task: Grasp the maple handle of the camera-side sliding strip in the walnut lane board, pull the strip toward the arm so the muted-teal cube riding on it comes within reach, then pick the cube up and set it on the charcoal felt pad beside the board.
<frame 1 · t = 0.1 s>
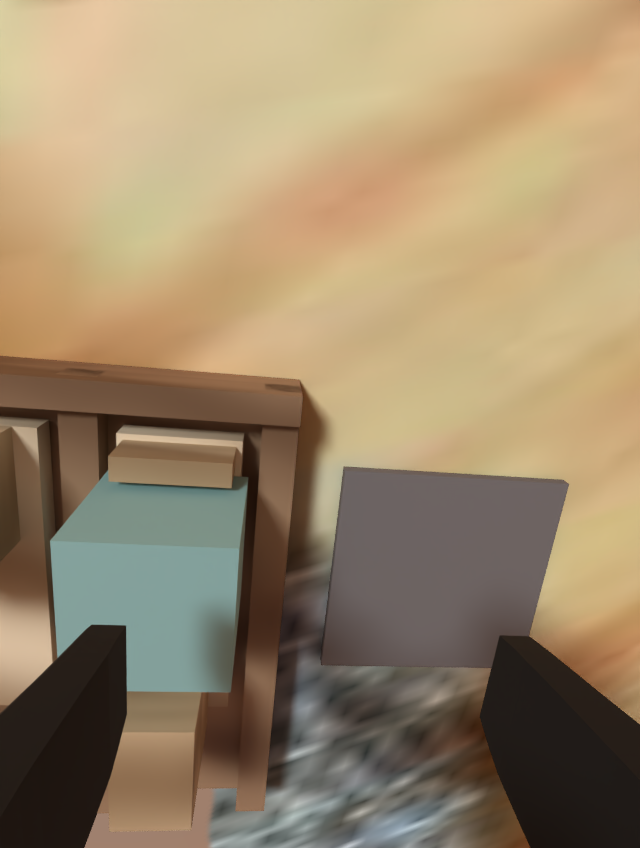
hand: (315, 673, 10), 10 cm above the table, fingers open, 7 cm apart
cube: (178, 533, 17), point 2 cm above the table, touching strip a
felt pad: (437, 572, 21), on the table
strip a: (168, 622, 16), point 4 cm above the table, slide at 0.0 cm, touching cube
lane board: (104, 592, 20), on the table
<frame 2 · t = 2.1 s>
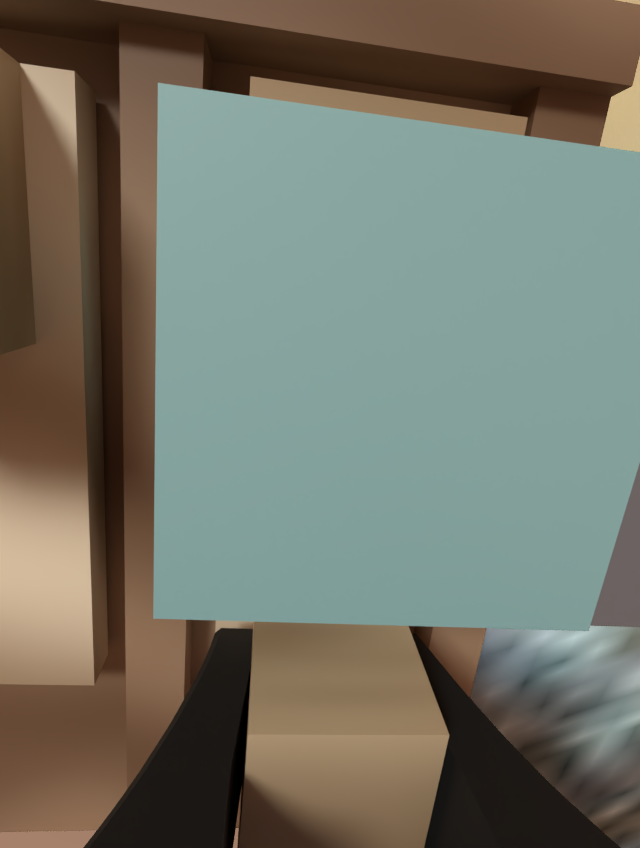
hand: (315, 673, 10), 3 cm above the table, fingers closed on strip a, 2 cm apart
cube: (346, 341, 9), point 2 cm above the table, touching strip a
strip a: (342, 505, 8), point 4 cm above the table, slide at 0.0 cm, touching cube, gripper
lane board: (176, 490, 12), on the table
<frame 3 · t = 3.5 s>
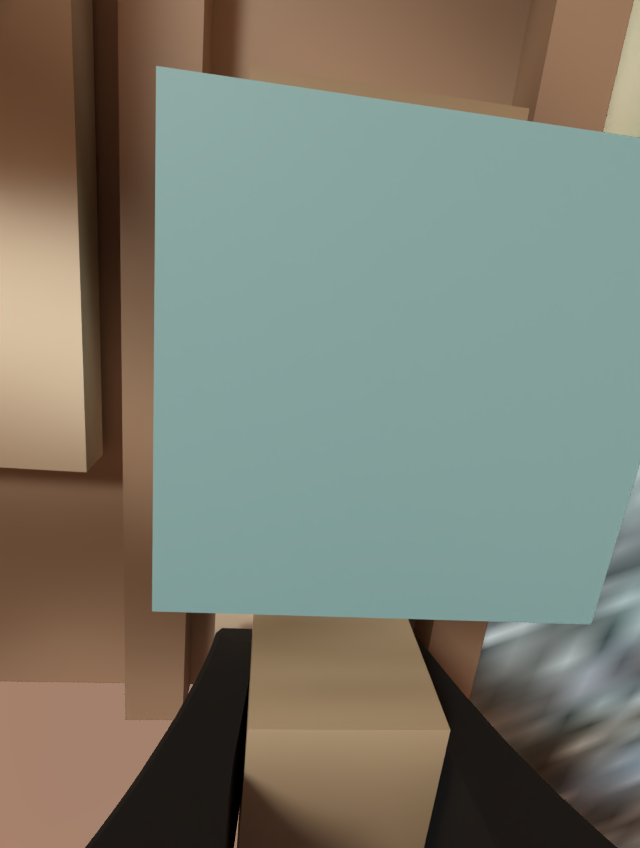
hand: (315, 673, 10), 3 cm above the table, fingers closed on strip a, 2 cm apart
cube: (347, 336, 9), point 2 cm above the table, touching strip a
strip a: (342, 500, 8), point 4 cm above the table, slide at 4.7 cm, touching cube, gripper
lane board: (180, 275, 10), on the table
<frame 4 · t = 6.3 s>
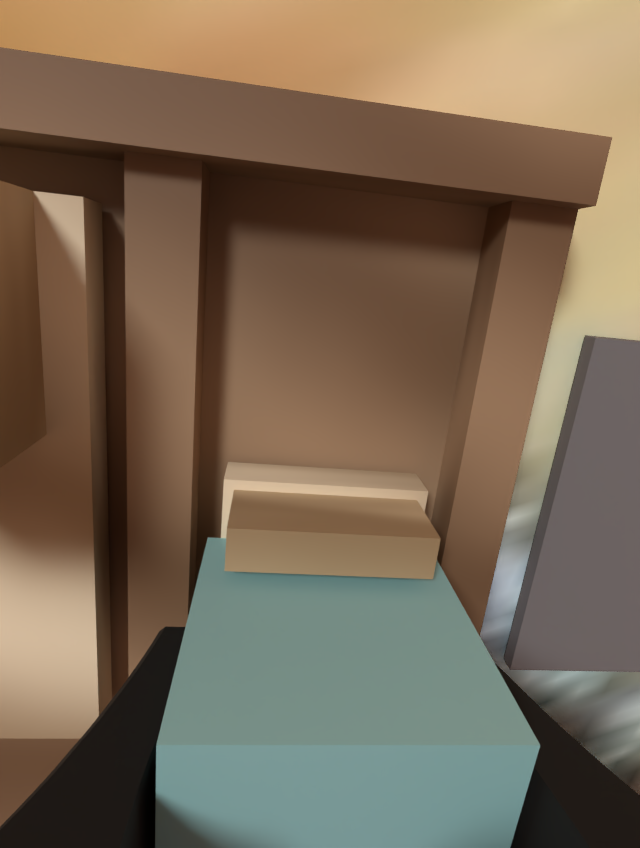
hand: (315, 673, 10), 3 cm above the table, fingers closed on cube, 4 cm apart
cube: (310, 636, 11), point 2 cm above the table, touching gripper, strip a
strip a: (304, 790, 10), point 4 cm above the table, slide at 4.7 cm, touching cube
lane board: (176, 549, 12), on the table
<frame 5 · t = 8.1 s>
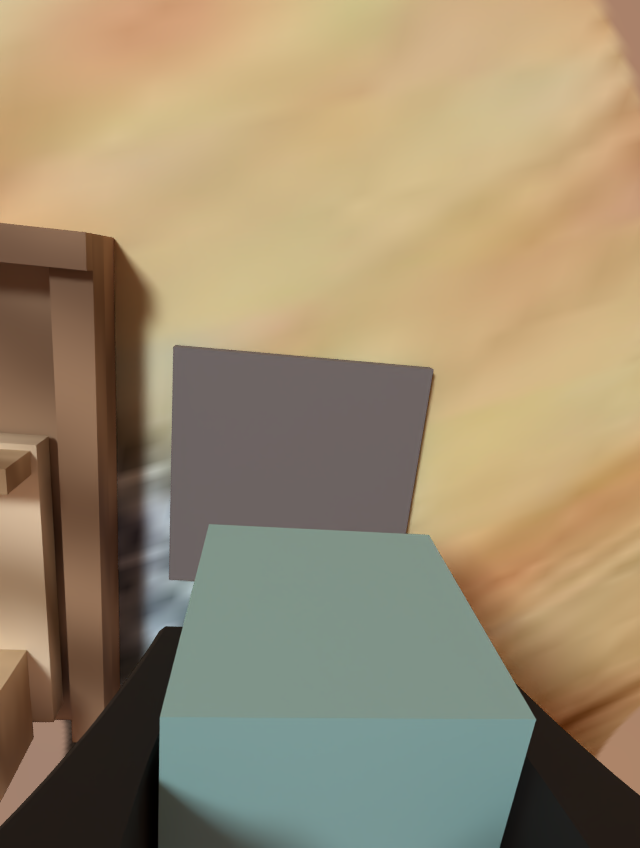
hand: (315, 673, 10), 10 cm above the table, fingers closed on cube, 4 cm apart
cube: (310, 622, 11), point 8 cm above the table, touching gripper
felt pad: (295, 474, 19), on the table
when the fingers open (3 cm above the table, at t = 9.8 s): cube drops 1 cm, resting on felt pad.
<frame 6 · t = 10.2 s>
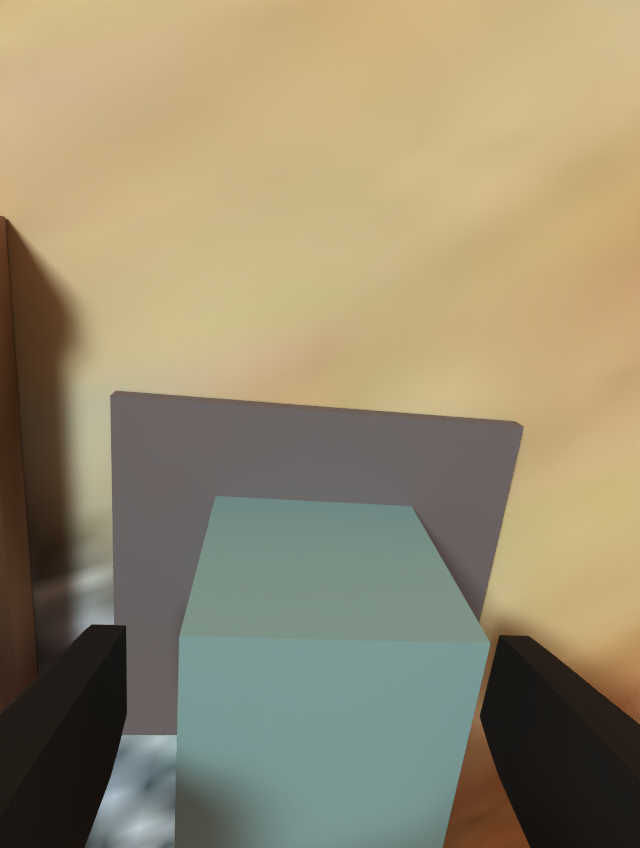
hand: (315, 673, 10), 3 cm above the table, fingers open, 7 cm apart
cube: (306, 586, 12), resting on felt pad
felt pad: (305, 580, 13), on the table
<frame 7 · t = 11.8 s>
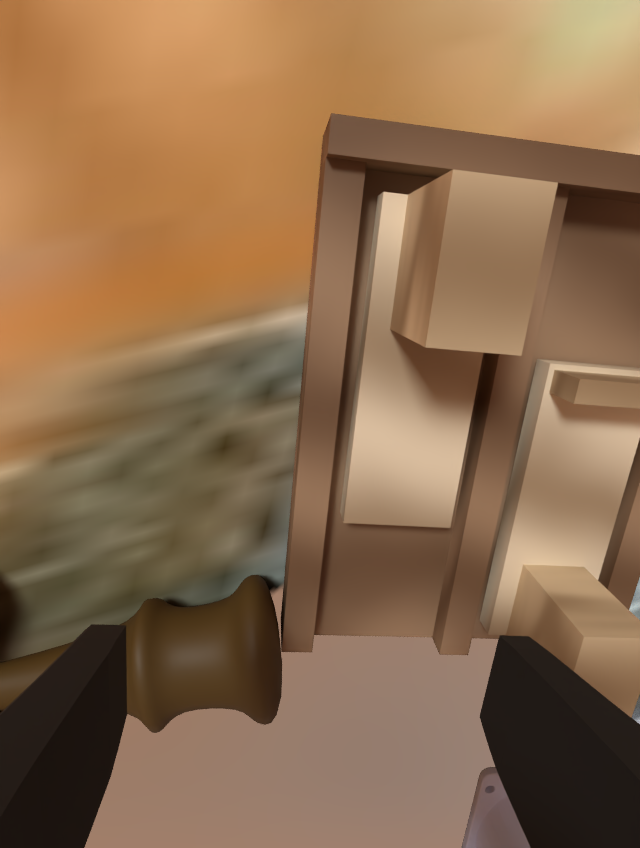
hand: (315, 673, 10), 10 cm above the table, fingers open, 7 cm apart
kendama: (44, 629, 21), on the table
strip a: (589, 543, 17), point 4 cm above the table, slide at 4.7 cm
lane board: (477, 423, 20), on the table
strip b: (434, 388, 15), point 4 cm above the table, slide at 0.0 cm
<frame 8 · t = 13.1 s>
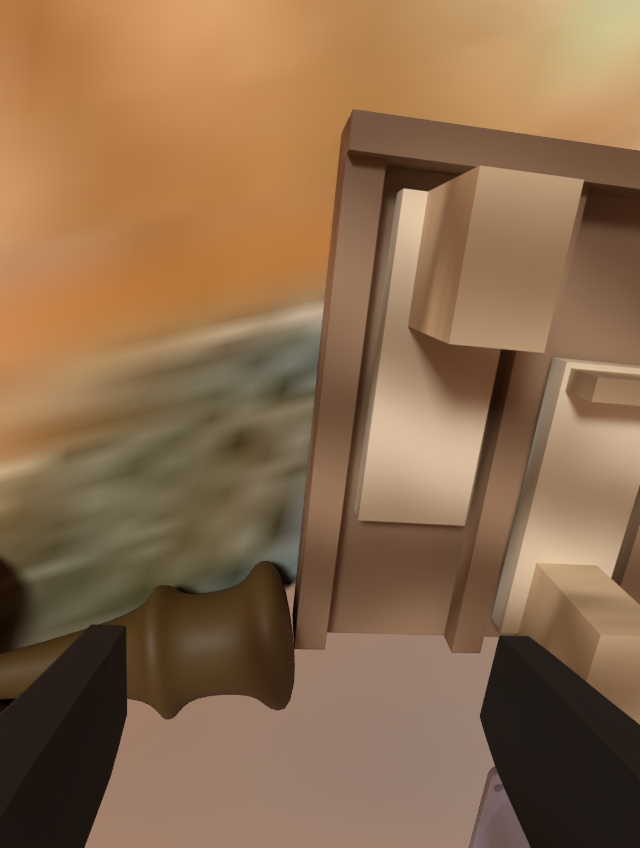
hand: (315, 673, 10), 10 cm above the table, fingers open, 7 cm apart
kendama: (53, 618, 21), on the table
strip a: (604, 541, 17), point 4 cm above the table, slide at 4.7 cm
lane board: (491, 421, 20), on the table
strip b: (453, 385, 15), point 4 cm above the table, slide at 0.0 cm
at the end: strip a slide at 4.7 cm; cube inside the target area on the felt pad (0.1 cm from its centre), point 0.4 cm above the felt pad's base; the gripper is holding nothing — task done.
